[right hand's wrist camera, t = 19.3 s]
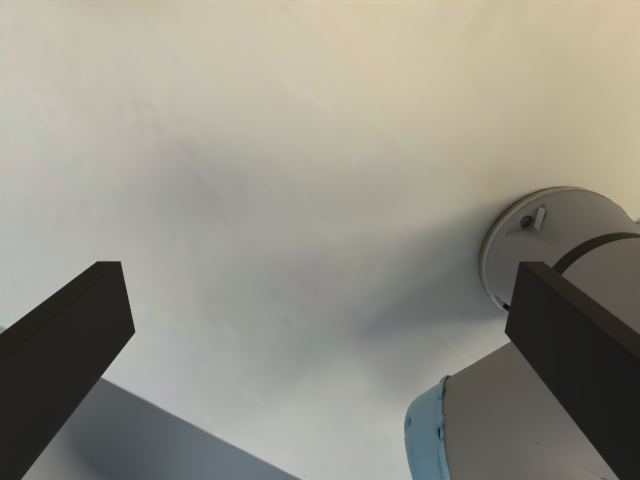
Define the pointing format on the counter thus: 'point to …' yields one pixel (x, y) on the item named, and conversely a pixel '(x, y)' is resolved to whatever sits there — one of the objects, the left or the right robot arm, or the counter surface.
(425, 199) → the counter surface
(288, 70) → the counter surface
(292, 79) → the counter surface
